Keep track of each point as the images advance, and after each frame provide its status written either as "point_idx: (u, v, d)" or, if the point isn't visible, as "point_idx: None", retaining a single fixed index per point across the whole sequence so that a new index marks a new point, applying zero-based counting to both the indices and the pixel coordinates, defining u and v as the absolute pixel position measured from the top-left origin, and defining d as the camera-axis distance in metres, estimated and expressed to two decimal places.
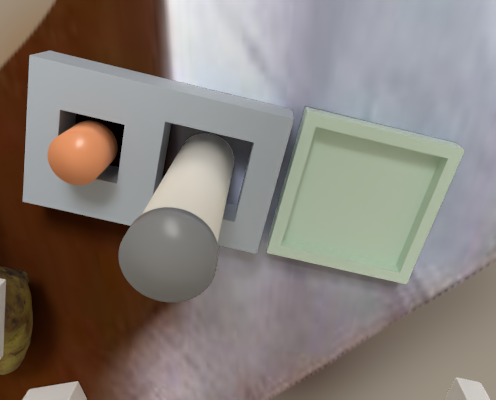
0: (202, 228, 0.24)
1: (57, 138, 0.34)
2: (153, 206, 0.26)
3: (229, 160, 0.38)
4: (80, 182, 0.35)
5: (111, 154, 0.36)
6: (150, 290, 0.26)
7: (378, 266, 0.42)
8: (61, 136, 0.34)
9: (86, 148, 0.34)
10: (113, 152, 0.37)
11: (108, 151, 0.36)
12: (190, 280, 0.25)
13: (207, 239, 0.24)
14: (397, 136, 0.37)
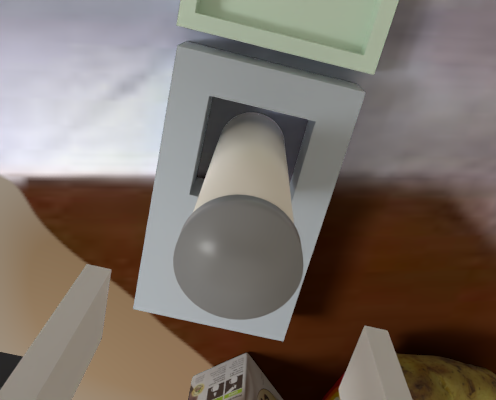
0: (193, 218, 0.18)
1: None
2: None
3: (236, 124, 0.31)
4: None
5: None
6: (283, 289, 0.19)
7: None
8: None
9: None
10: None
11: None
12: (267, 240, 0.18)
13: (202, 215, 0.18)
14: None
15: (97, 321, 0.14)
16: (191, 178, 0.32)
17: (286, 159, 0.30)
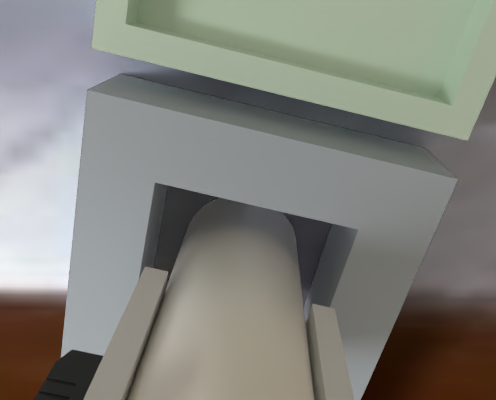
0: None
1: None
2: None
3: (210, 228, 0.17)
4: None
5: None
6: None
7: None
8: None
9: None
10: None
11: None
12: None
13: None
14: None
15: None
16: None
17: None
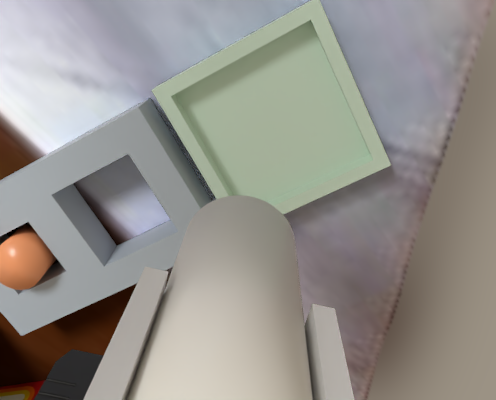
0: None
1: None
2: None
3: (209, 229, 0.17)
4: (34, 282, 0.37)
5: None
6: None
7: (349, 169, 0.36)
8: None
9: (14, 253, 0.36)
10: None
11: (38, 242, 0.37)
12: None
13: None
14: (245, 42, 0.32)
15: None
16: (63, 187, 0.35)
17: None
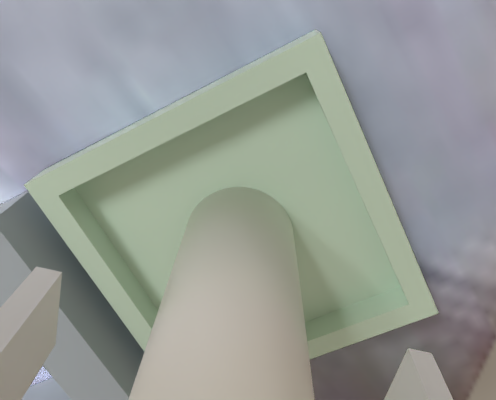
0: None
1: None
2: None
3: (211, 218, 0.18)
4: None
5: None
6: None
7: (366, 314, 0.21)
8: None
9: None
10: None
11: None
12: None
13: None
14: (186, 108, 0.18)
15: (46, 326, 0.13)
16: None
17: (300, 290, 0.16)
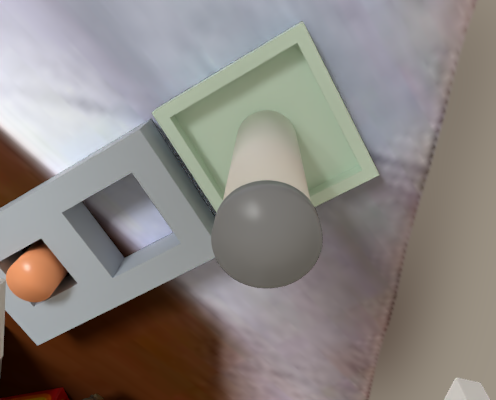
0: (226, 202, 0.22)
1: (7, 277, 0.39)
2: None
3: (252, 121, 0.34)
4: (48, 294, 0.39)
5: None
6: (306, 259, 0.22)
7: (340, 180, 0.38)
8: (8, 273, 0.39)
9: (29, 268, 0.39)
10: None
11: (51, 257, 0.40)
12: (290, 217, 0.21)
13: (234, 199, 0.21)
14: (237, 65, 0.34)
15: None
16: (72, 205, 0.38)
17: None
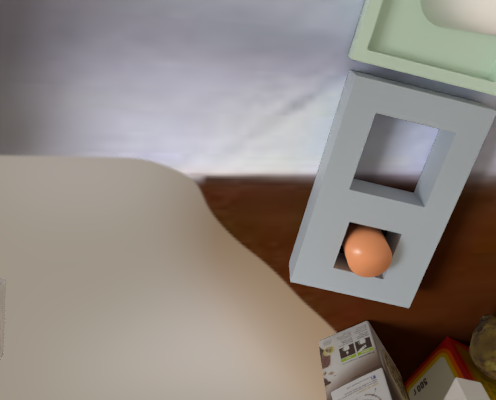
0: None
1: (351, 267, 0.43)
2: None
3: None
4: (389, 257, 0.42)
5: (370, 228, 0.44)
6: None
7: None
8: (349, 264, 0.43)
9: (361, 248, 0.42)
10: None
11: (366, 231, 0.43)
12: None
13: None
14: None
15: None
16: (352, 176, 0.41)
17: None
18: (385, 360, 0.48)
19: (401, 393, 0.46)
